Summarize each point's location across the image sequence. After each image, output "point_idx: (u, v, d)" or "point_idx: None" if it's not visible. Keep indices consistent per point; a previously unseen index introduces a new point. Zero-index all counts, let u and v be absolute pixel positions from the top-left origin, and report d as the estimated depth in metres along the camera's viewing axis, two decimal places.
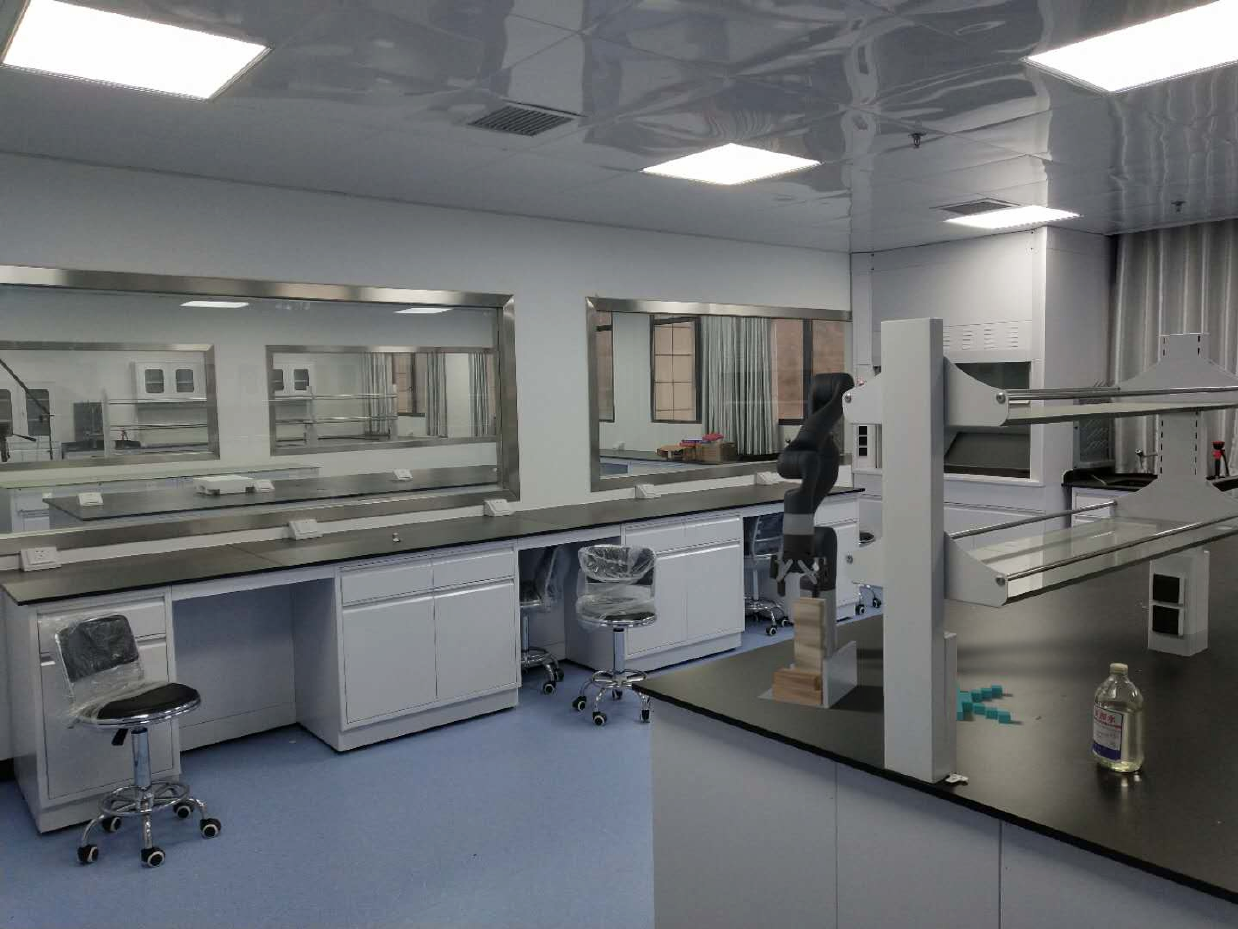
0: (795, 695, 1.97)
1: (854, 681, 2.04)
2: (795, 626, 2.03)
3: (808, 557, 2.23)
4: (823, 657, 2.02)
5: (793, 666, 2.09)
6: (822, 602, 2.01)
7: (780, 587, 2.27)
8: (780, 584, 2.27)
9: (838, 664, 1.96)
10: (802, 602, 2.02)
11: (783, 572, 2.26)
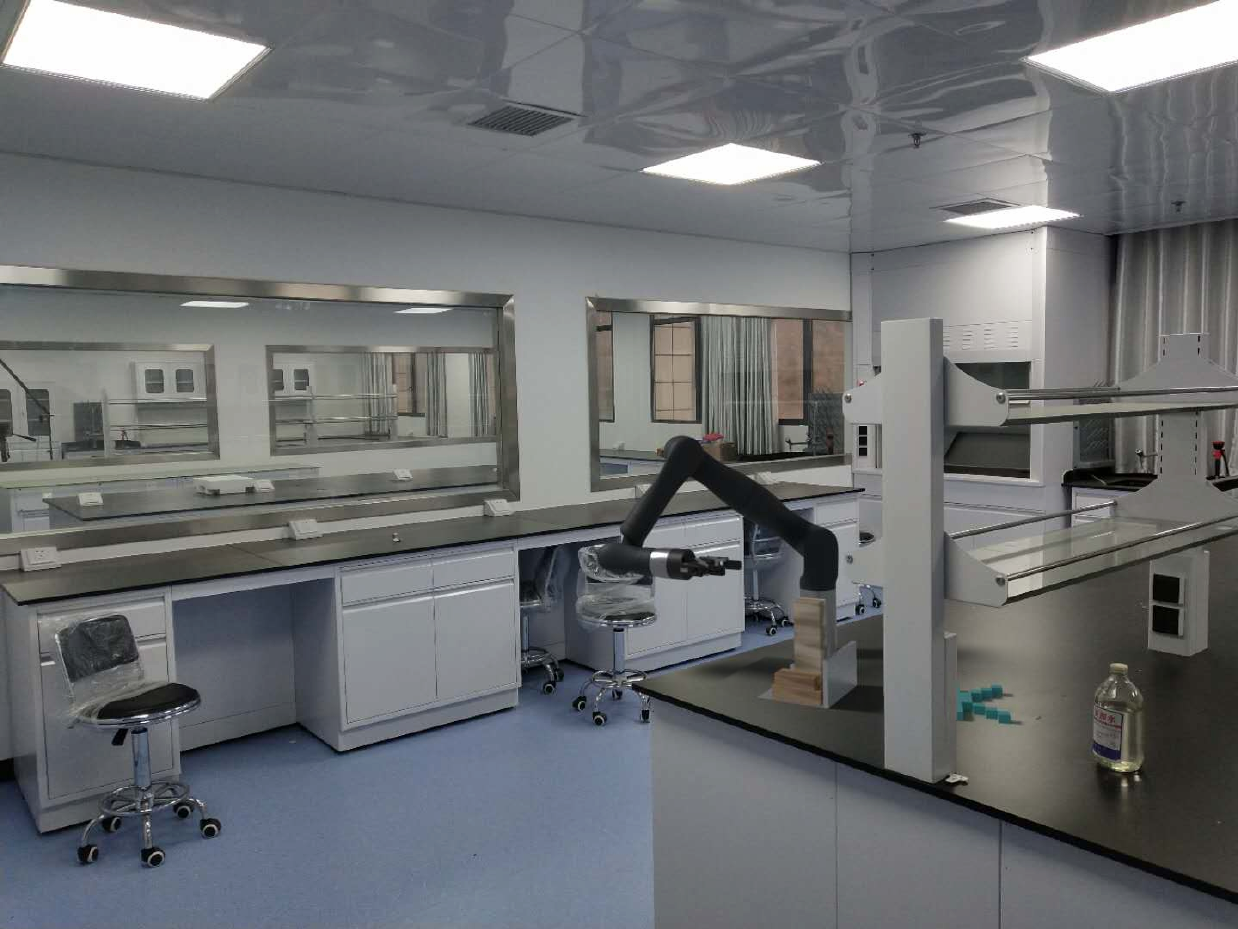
0: (795, 695, 1.97)
1: (854, 681, 2.04)
2: (795, 626, 2.03)
3: None
4: (823, 657, 2.02)
5: (793, 666, 2.09)
6: (822, 602, 2.01)
7: None
8: None
9: (838, 664, 1.96)
10: (802, 602, 2.02)
11: None
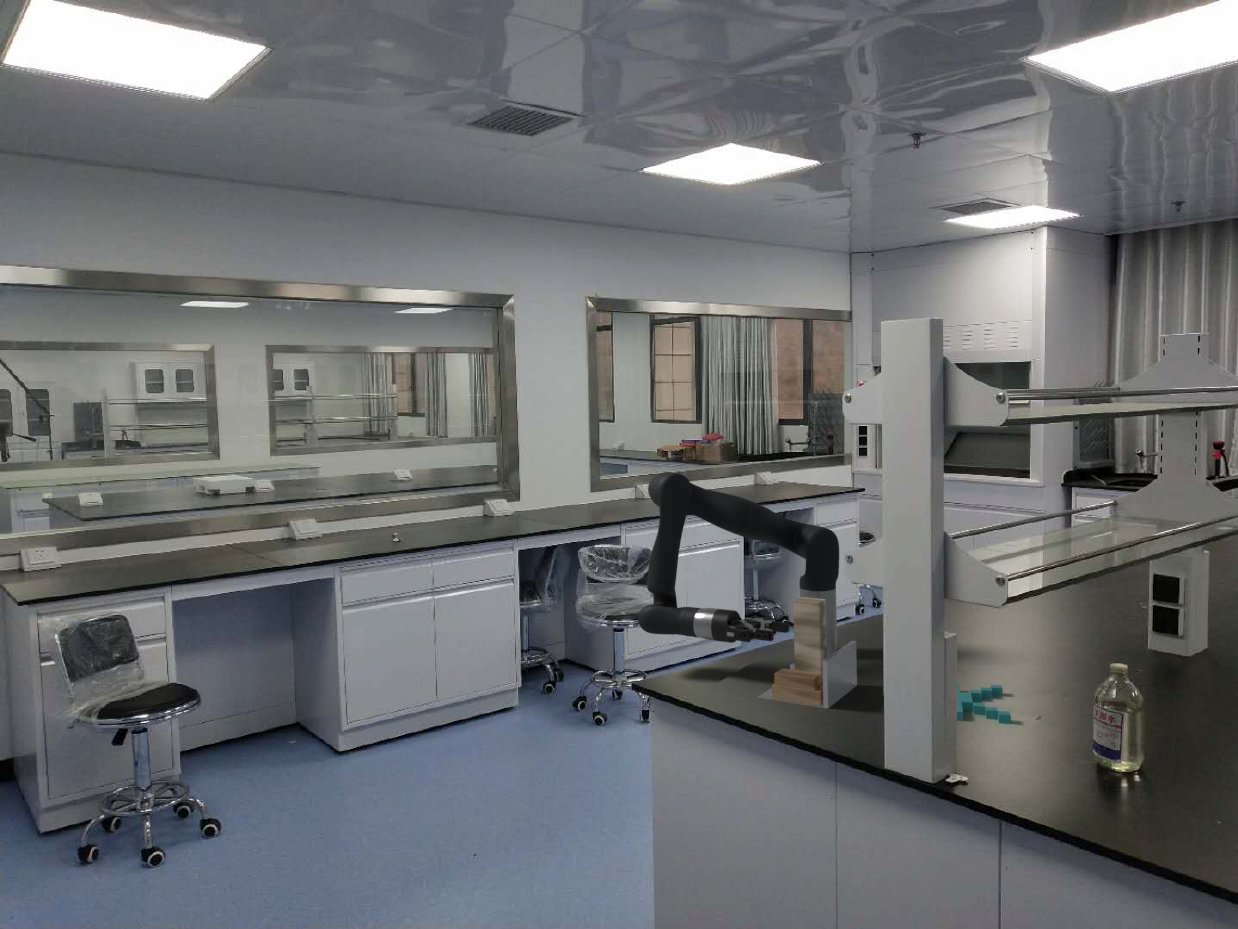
0: (795, 695, 1.97)
1: (854, 681, 2.04)
2: (795, 626, 2.03)
3: None
4: (823, 657, 2.02)
5: (793, 666, 2.09)
6: (822, 602, 2.01)
7: None
8: None
9: (838, 664, 1.96)
10: (802, 602, 2.02)
11: None
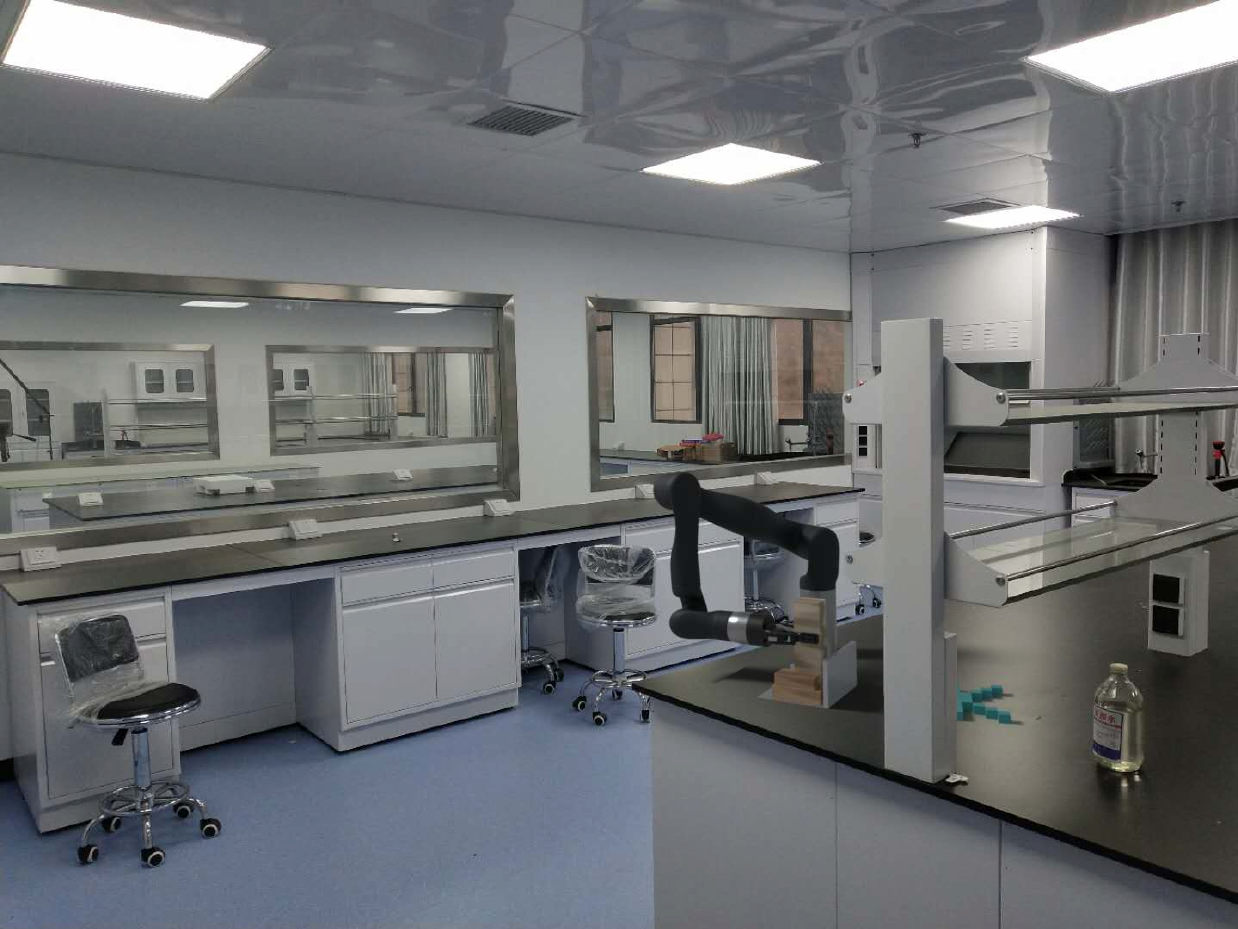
0: (795, 695, 1.97)
1: (854, 681, 2.04)
2: (795, 626, 2.03)
3: None
4: (823, 657, 2.02)
5: (793, 666, 2.09)
6: (822, 602, 2.01)
7: None
8: None
9: (838, 664, 1.96)
10: (802, 602, 2.02)
11: None
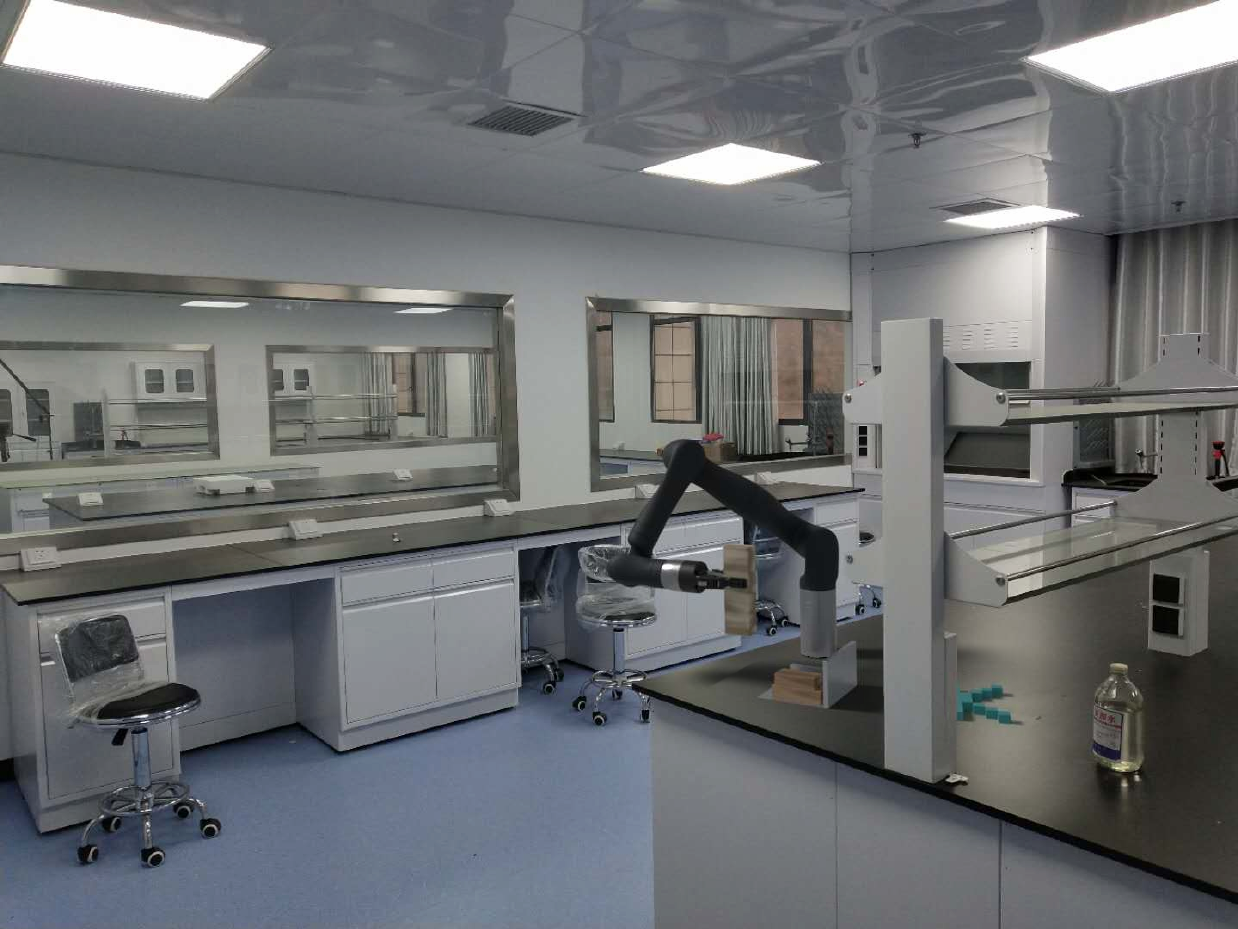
0: (795, 695, 1.97)
1: (854, 681, 2.04)
2: (725, 571, 2.07)
3: None
4: (752, 602, 2.06)
5: (793, 666, 2.09)
6: (751, 548, 2.05)
7: None
8: None
9: (838, 664, 1.96)
10: (731, 548, 2.06)
11: None
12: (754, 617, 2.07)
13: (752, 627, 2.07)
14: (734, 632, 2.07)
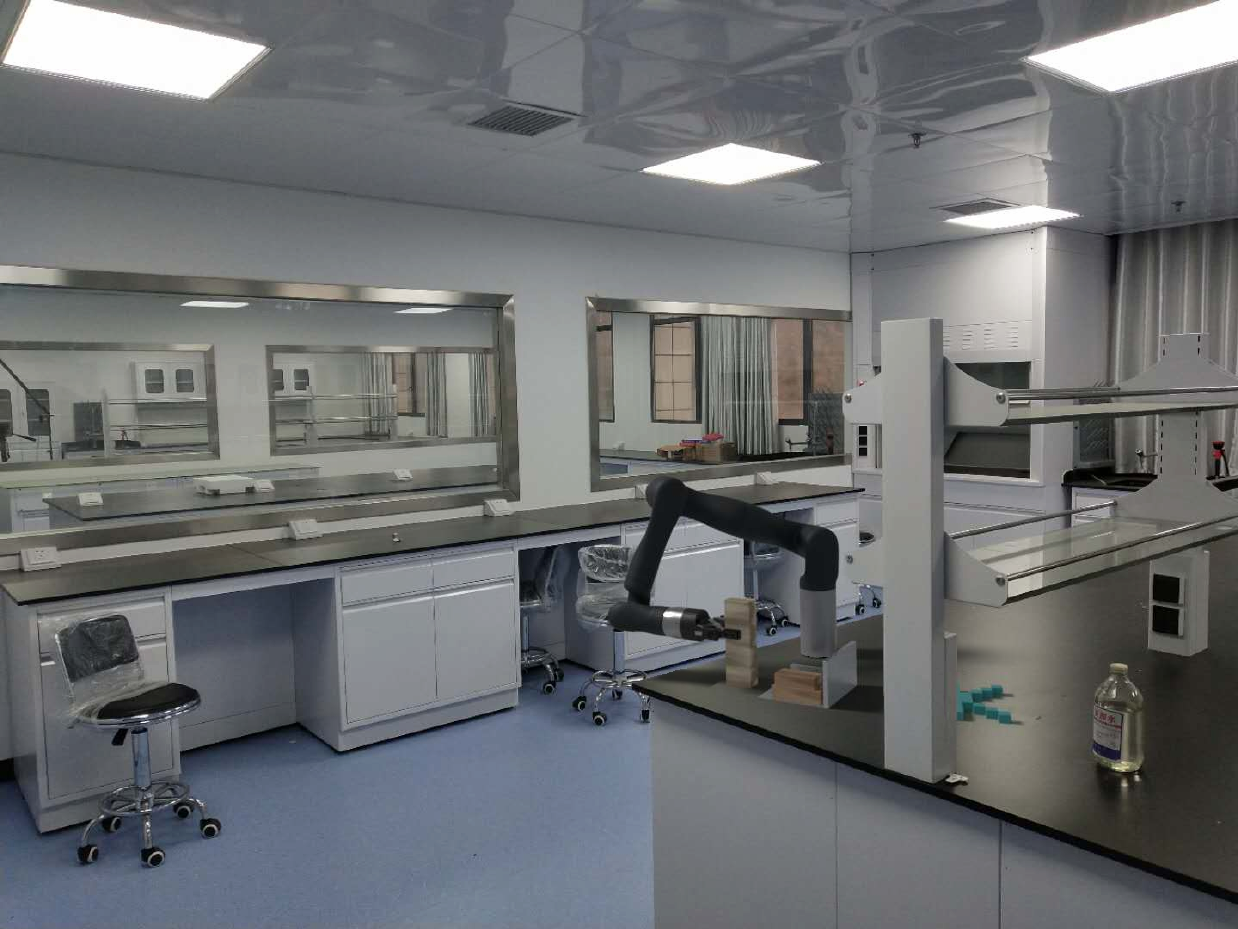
0: (795, 695, 1.97)
1: (854, 681, 2.04)
2: (726, 625, 2.08)
3: None
4: (753, 655, 2.07)
5: (793, 666, 2.09)
6: (752, 602, 2.06)
7: None
8: None
9: (838, 664, 1.96)
10: (732, 602, 2.07)
11: None
12: (755, 670, 2.08)
13: (753, 681, 2.07)
14: None
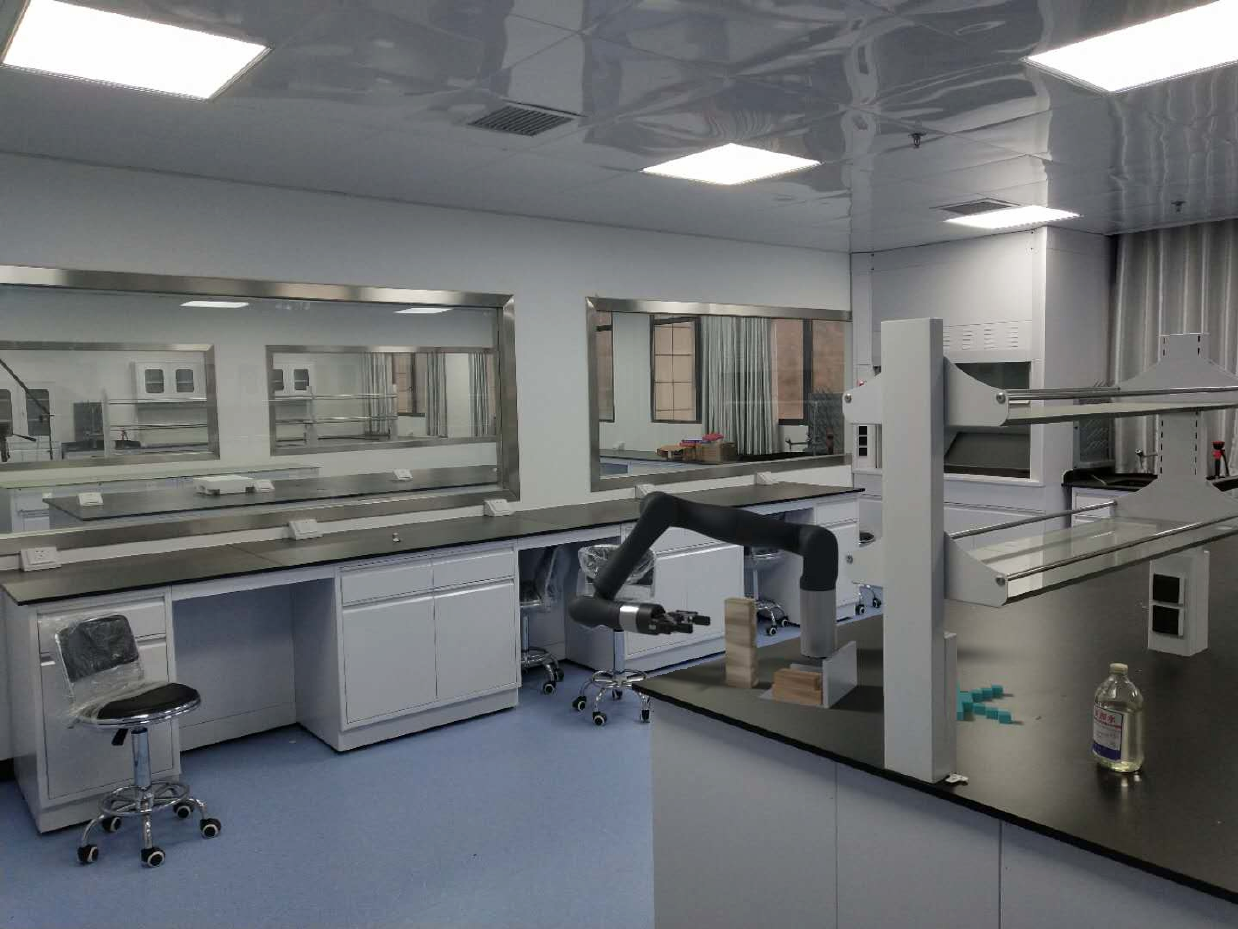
0: (795, 695, 1.97)
1: (854, 681, 2.04)
2: (726, 625, 2.08)
3: None
4: (753, 655, 2.07)
5: (793, 666, 2.09)
6: (752, 602, 2.06)
7: None
8: None
9: (838, 664, 1.96)
10: (732, 602, 2.07)
11: None
12: (755, 670, 2.08)
13: (753, 681, 2.07)
14: None
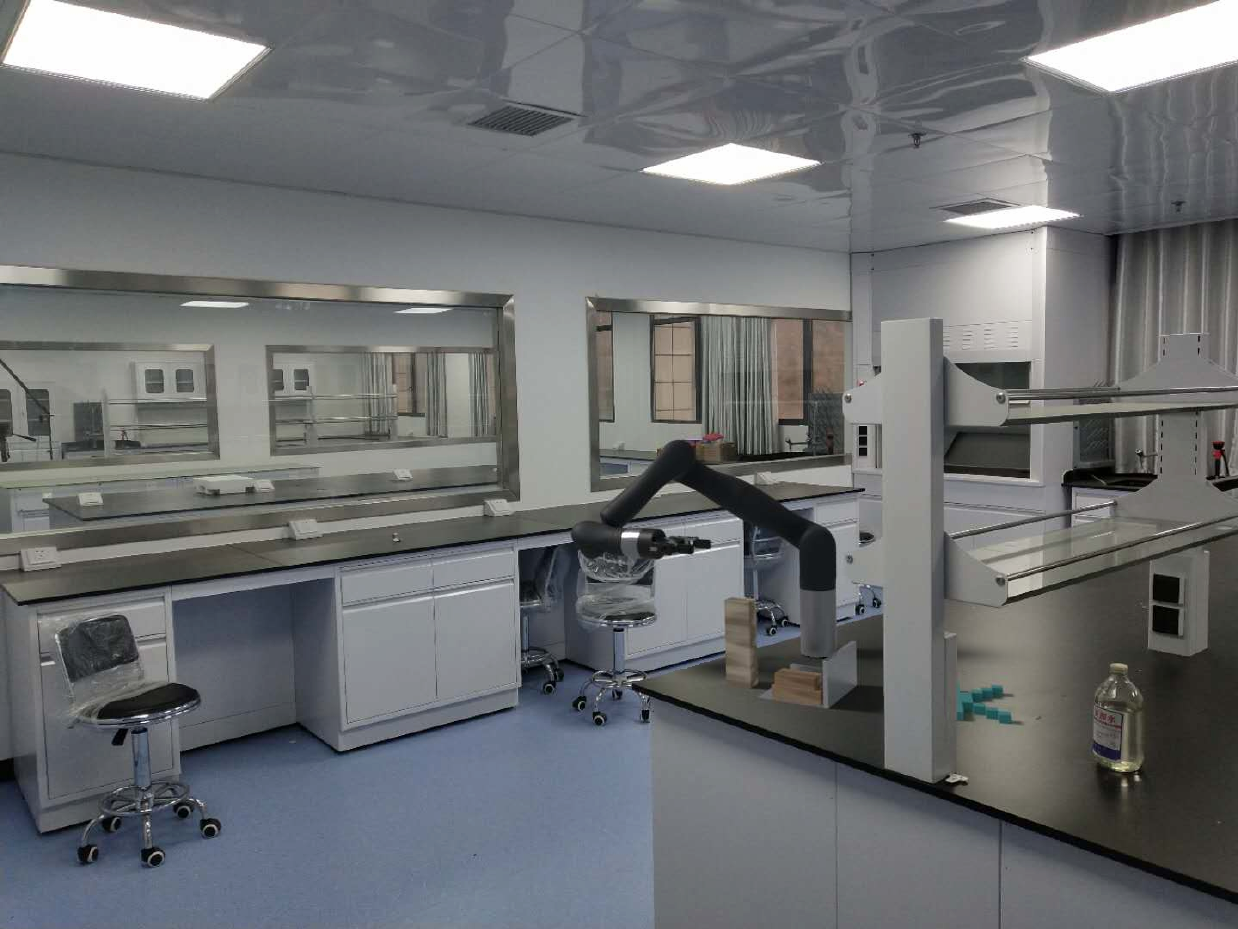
0: (795, 695, 1.97)
1: (854, 681, 2.04)
2: (726, 625, 2.08)
3: None
4: (753, 655, 2.07)
5: (793, 666, 2.09)
6: (752, 602, 2.06)
7: None
8: None
9: (838, 664, 1.96)
10: (732, 602, 2.07)
11: None
12: (755, 670, 2.08)
13: (753, 681, 2.07)
14: None
